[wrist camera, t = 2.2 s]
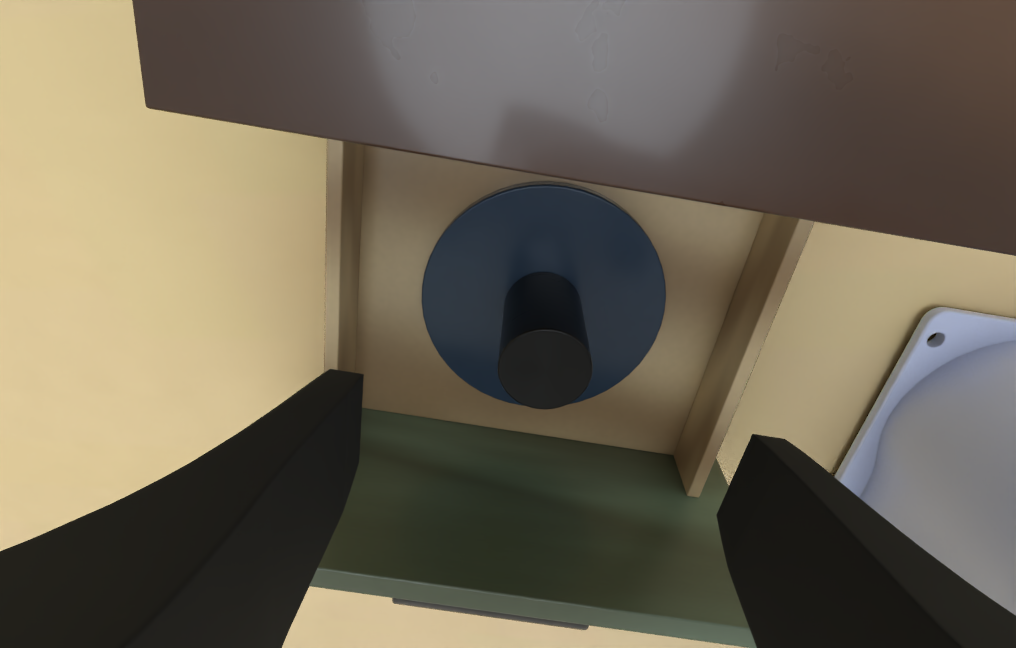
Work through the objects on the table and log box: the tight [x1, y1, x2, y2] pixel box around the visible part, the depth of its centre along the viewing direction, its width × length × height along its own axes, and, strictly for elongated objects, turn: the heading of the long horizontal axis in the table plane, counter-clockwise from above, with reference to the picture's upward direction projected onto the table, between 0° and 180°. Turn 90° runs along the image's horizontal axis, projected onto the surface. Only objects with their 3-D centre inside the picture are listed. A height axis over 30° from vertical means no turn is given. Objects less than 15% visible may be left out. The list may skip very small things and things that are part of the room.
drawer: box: [309, 139, 814, 648], centre depth 14 cm, size 18×14×7 cm
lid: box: [421, 181, 666, 409], centre depth 15 cm, size 7×7×4 cm
